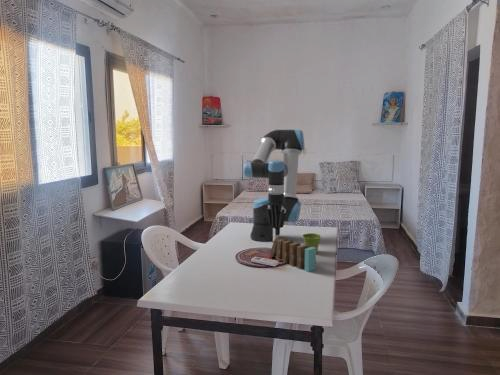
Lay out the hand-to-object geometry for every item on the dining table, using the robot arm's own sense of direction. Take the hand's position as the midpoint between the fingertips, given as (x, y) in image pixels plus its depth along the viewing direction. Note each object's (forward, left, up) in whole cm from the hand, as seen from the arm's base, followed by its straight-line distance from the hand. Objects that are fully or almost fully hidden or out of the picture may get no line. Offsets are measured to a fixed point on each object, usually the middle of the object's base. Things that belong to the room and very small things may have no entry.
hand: (275, 240), depth 183 cm
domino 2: (+3, 0, -8) cm, 9 cm away
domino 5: (+17, 0, -9) cm, 19 cm away
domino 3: (+8, 0, -9) cm, 12 cm away
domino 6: (+22, 0, -9) cm, 23 cm away
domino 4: (+13, 0, -9) cm, 15 cm away
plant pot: (+6, +19, -9) cm, 22 cm away
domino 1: (-1, 0, -8) cm, 8 cm away
